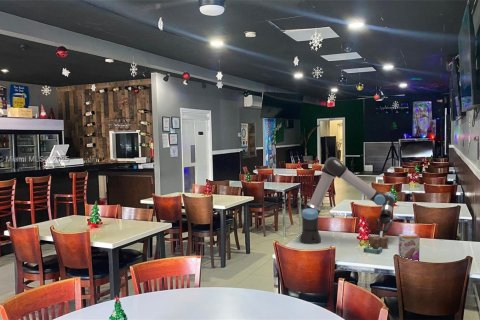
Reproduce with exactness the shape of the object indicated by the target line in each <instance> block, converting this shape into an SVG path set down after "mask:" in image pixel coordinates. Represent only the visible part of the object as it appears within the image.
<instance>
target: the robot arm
mask: <svg viewBox="0 0 480 320" xmlns="http://www.w3.org/2000/svg"><path fill="white" fill-rule="evenodd" d="M321 173H322V175H321V177H320V179H319V181H318V183H317V185H316V187H315V190H314V192H313V194H312V196H311V199H310V201H309V202H307V203H306V204H305V206H304V209H303V210H302V212H301V221H302V222H301V223H302V224H301V225H302V226H301V230H302V231H301V235H300V238H299V242H300V241H301V242H300V243H302V242H304V243H303V244H306V243H316V244H320V243H321V242H322V237H321V234H320V231H319V215H320V213H321V210H322V209H321V206H322V204H323V201H324V199H325V197H326V195H327V193H328V190H329V188H330V186H331V184H332V182H333V180H335V179H336V178H338V179H342V180H343V181H344V182H346V183H347V184H349V185H350V186H351V187H352V188H354V189H355V190H357V191H358V192H359V193H361V194H363V196H365V197H366V199H367V200H369V201H371V202H372V203H374V204H376V205H377V206H381V210H380V214H379V217H378V218H375V219H374V220H375V223H376V231H377V232H378V237H386V236H385V235H386V233H387V234H388V233H389V232H390V230H391V227H392V226H393V224H394V223H395V222H394V220H393V219H392V216H393V215H392V214H393V209H394V204H395V195H394V194H392V193H390V192H389V193H385V194H383V193H381V192H378V191H377V190H376V189H375V188H374V187H372V186H370V185H369V184H368V183H366V182H365V181H364V180H363V179H361V178H360V177H359V176H357V175H356V174H354V173H353V172H352V171H350V170H349V169H348V167H347V166H346V165H345V164H344V163H343V162H342V161H341V160H340V159H339V158H337V157H333V156H331V157H328V158H326V160H325V161H324V166H323V168H322V169H321ZM379 222H380V223H379ZM319 242H320V243H319Z"/></svg>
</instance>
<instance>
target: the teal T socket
mask: <svg viewBox="0 0 480 320" xmlns="http://www.w3.org/2000/svg"><path fill="white" fill-rule="evenodd" d="M382 252H383V248H382V247H379V248H378V249H372V248H370V247H369V245H366V246H364V248H363V253H368V254H375V255H380V254H381V253H382Z"/></svg>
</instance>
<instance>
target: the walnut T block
mask: <svg viewBox="0 0 480 320" xmlns="http://www.w3.org/2000/svg"><path fill="white" fill-rule="evenodd" d="M369 244H370V246H371V247H370V248H371V249H378V248H379V247H382V250H383V249H384V250H385V249H388V248H389V238H388V237H386V236H384V237H380V236H379V235H378V236H377V235H376V236H375V235H368V245H369Z"/></svg>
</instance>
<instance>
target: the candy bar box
mask: <svg viewBox="0 0 480 320" xmlns="http://www.w3.org/2000/svg"><path fill="white" fill-rule="evenodd" d="M398 256H401V257H404V258H408V259H412V260H418V261H419V262H420V236H419V235H418V234H409V233H408V234H398Z"/></svg>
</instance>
